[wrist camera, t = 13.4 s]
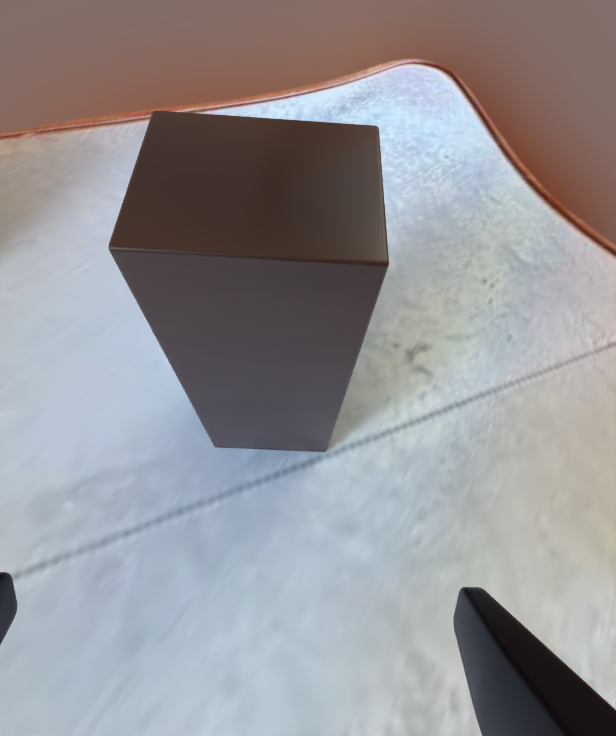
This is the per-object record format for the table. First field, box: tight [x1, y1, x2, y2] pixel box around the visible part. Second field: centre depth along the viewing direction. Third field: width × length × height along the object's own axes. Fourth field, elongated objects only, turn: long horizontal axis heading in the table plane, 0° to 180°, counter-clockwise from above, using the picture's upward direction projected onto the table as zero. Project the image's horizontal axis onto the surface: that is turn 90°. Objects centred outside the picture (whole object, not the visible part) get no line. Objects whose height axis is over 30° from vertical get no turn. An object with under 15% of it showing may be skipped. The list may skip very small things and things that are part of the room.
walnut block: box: [109, 111, 389, 452], centre depth 14 cm, size 4×5×12 cm
